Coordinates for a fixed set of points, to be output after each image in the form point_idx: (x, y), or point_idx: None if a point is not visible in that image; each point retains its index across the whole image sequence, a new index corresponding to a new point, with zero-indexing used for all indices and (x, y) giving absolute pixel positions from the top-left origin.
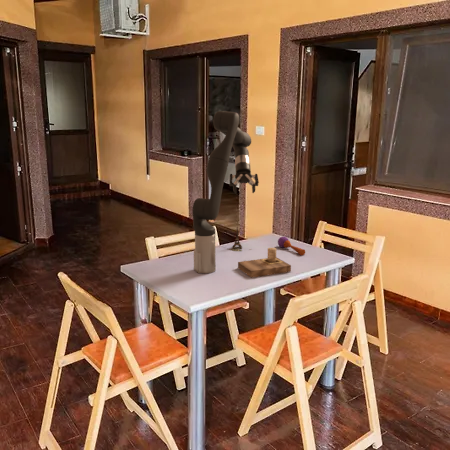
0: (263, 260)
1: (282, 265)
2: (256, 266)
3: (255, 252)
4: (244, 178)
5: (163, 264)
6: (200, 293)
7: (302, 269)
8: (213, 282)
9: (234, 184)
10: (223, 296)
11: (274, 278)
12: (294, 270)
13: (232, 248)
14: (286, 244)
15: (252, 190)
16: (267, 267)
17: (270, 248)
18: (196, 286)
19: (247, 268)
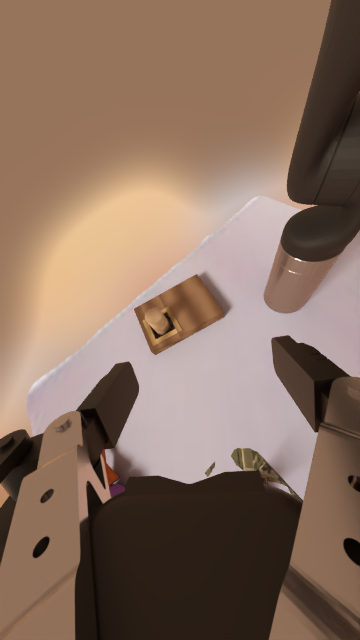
0: (176, 324)
1: (146, 306)
2: (188, 294)
3: (195, 436)
4: (168, 565)
5: None
6: (259, 221)
7: (119, 327)
8: (252, 253)
9: (348, 378)
10: (228, 221)
11: (165, 284)
12: (132, 320)
13: (265, 478)
14: (110, 472)
15: (129, 386)
16: (171, 293)
17: (155, 317)
18: (273, 236)
19: (203, 283)
